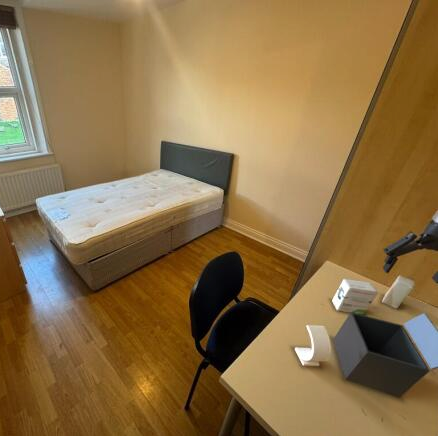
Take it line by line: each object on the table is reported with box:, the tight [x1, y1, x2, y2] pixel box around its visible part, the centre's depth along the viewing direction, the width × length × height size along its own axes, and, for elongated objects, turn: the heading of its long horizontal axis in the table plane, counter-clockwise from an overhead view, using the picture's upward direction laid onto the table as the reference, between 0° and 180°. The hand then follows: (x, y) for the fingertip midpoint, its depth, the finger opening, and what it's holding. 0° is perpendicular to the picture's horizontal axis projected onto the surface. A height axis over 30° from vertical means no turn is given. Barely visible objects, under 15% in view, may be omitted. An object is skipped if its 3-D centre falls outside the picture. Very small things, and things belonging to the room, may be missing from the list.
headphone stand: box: [294, 324, 332, 367], centre depth 68 cm, size 5×6×12 cm
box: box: [381, 275, 416, 309], centre depth 85 cm, size 5×4×11 cm
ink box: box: [331, 278, 379, 316], centre depth 83 cm, size 9×5×12 cm, turn 75°
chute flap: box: [403, 312, 438, 371], centre depth 58 cm, size 6×13×1 cm
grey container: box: [333, 312, 431, 399], centre depth 65 cm, size 12×13×14 cm
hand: (409, 275), depth 81 cm, fingers open, 13 cm apart
